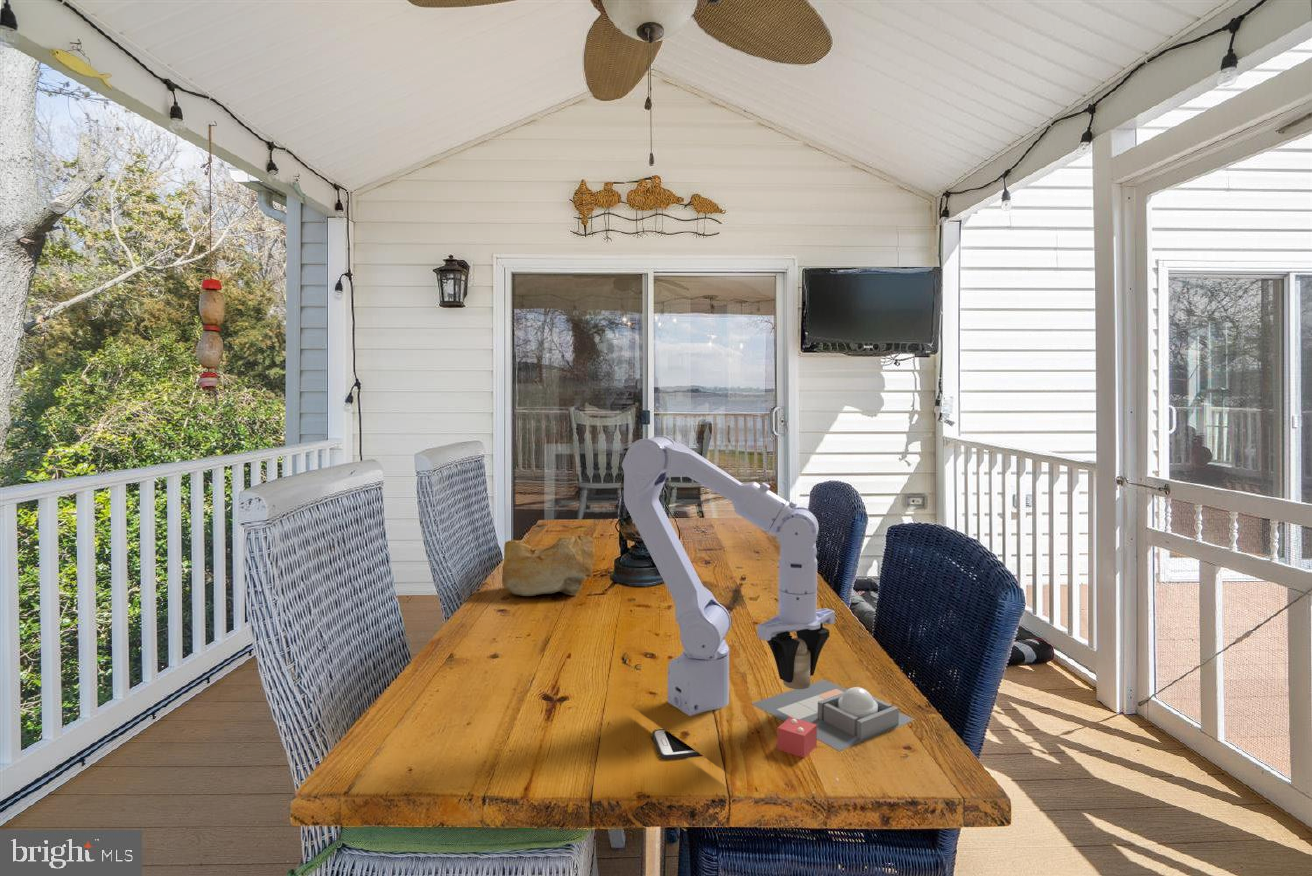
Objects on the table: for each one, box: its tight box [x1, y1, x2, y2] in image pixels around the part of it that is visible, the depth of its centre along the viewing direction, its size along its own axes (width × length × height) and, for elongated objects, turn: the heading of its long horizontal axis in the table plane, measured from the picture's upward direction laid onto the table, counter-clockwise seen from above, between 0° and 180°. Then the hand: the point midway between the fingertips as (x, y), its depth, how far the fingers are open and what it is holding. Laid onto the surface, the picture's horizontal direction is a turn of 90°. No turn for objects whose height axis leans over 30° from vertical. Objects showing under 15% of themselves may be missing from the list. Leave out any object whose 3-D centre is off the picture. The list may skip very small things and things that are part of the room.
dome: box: [838, 686, 878, 720], centre depth 104 cm, size 6×6×5 cm
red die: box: [776, 717, 818, 759], centre depth 97 cm, size 4×4×4 cm
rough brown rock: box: [501, 534, 595, 597], centre depth 179 cm, size 23×17×15 cm
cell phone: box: [651, 728, 704, 761], centre depth 101 cm, size 8×15×1 cm, turn 101°
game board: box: [751, 679, 916, 752], centre depth 108 cm, size 16×18×4 cm
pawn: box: [782, 637, 811, 690], centre depth 107 cm, size 4×4×7 cm
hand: (796, 676), depth 108 cm, fingers closed on pawn, 4 cm apart
